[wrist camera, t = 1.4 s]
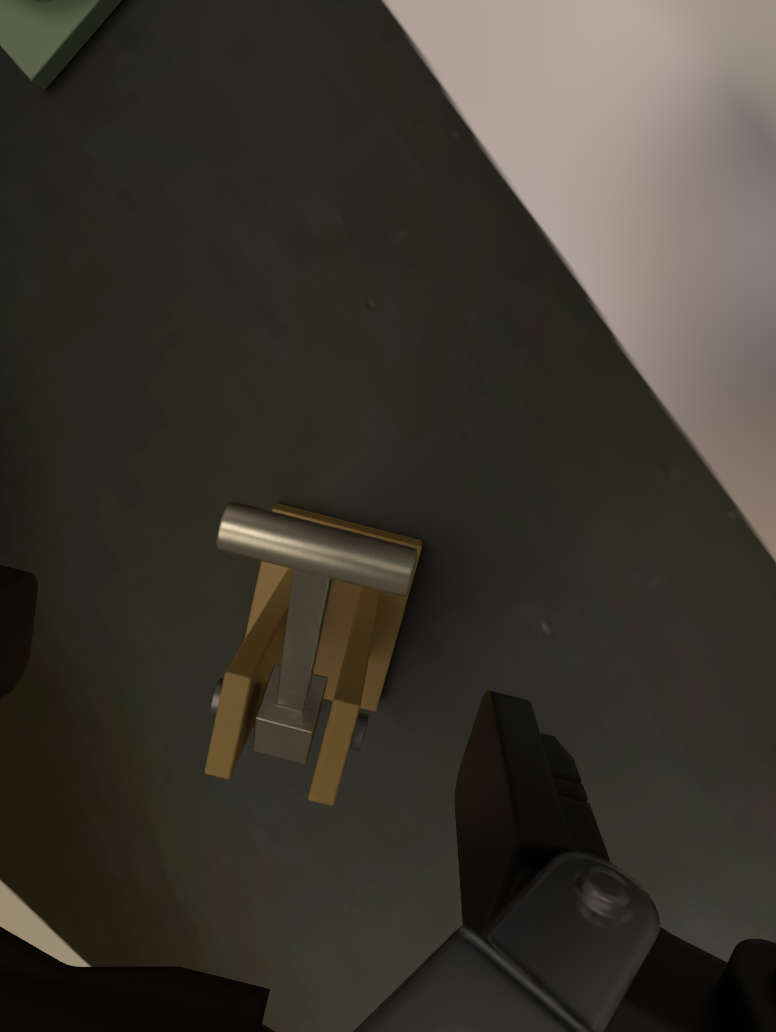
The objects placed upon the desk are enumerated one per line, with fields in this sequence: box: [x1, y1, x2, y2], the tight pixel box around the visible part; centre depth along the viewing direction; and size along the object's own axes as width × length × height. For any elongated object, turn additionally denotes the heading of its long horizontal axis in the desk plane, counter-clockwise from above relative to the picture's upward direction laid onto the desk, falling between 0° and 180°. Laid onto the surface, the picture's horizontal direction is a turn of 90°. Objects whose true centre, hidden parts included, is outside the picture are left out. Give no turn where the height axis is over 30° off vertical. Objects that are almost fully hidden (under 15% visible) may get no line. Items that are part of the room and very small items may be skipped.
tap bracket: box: [205, 503, 422, 806], centre depth 30 cm, size 10×8×13 cm
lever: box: [216, 501, 417, 764], centre depth 22 cm, size 12×6×2 cm, turn 167°
